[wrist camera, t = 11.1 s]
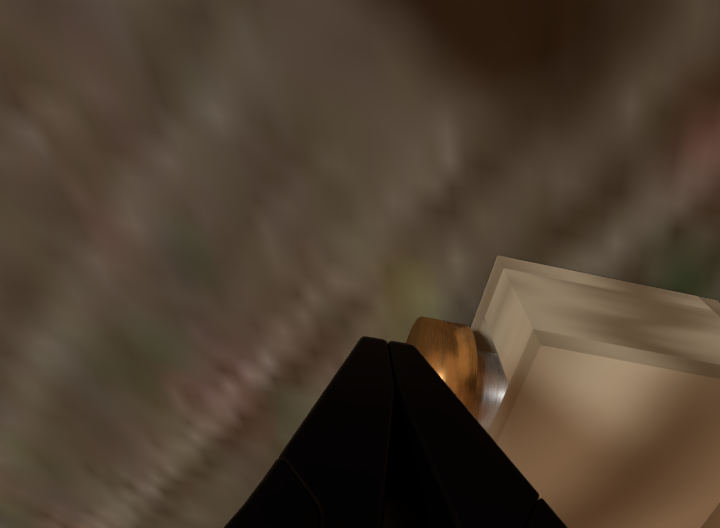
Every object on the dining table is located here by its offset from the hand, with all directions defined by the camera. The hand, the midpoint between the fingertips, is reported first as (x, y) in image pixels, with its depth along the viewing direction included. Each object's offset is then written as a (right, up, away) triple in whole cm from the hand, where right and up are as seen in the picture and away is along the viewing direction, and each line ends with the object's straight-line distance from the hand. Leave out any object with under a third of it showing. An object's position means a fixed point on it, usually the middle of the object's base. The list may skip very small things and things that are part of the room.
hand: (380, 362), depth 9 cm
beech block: (+7, -6, +16) cm, 18 cm away
